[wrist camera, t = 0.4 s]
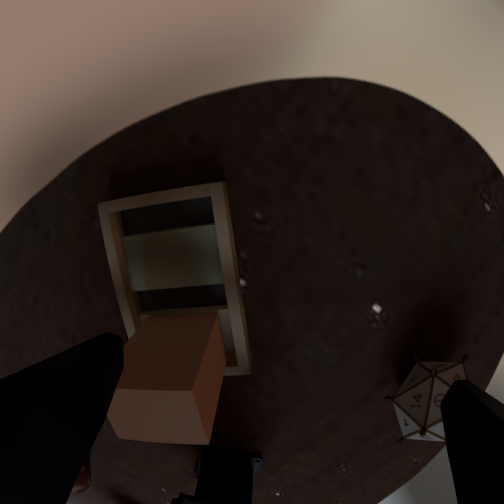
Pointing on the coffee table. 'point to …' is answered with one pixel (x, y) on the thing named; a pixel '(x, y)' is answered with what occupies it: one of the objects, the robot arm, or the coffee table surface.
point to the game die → (425, 398)
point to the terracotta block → (170, 380)
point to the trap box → (178, 261)
